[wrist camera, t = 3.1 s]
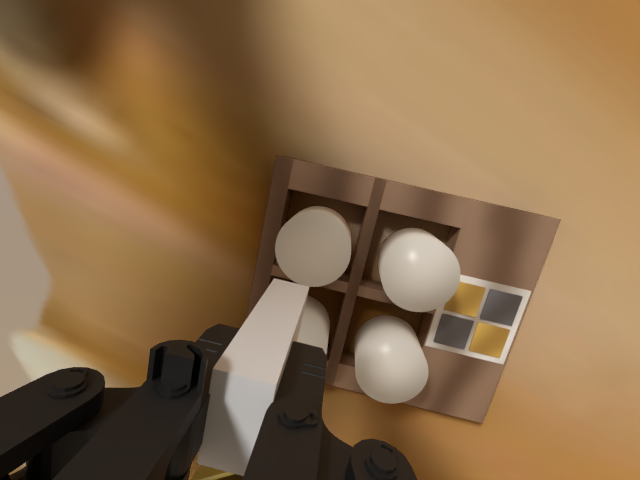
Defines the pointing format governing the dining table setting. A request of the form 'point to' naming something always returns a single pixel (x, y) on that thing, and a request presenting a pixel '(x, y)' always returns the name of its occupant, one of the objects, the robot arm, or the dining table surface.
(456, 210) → the egg tray
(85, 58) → the dining table surface
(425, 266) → the white egg
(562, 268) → the dining table surface
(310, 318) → the white egg
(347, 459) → the robot arm
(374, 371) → the cream rounded oval
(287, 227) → the white egg
